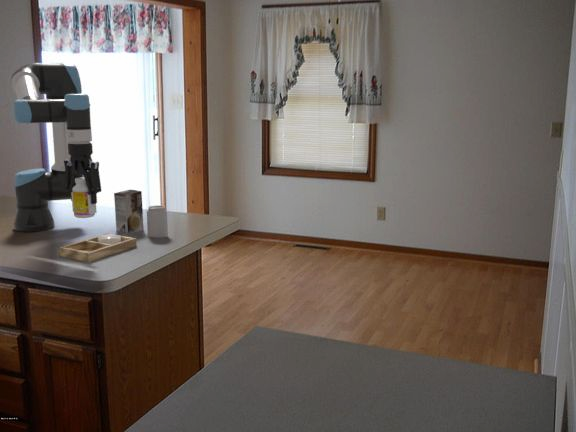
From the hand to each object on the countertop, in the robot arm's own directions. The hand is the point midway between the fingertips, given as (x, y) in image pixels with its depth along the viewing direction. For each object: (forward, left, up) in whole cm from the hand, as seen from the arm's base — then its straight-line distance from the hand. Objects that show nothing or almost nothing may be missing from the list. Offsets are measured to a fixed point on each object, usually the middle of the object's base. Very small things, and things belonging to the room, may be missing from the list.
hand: (84, 212), depth 198 cm
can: (+3, +32, -16) cm, 36 cm away
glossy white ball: (0, +10, -15) cm, 18 cm away
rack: (0, +5, -16) cm, 16 cm away
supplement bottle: (0, 0, -2) cm, 2 cm away
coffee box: (-12, +33, -16) cm, 39 cm away
